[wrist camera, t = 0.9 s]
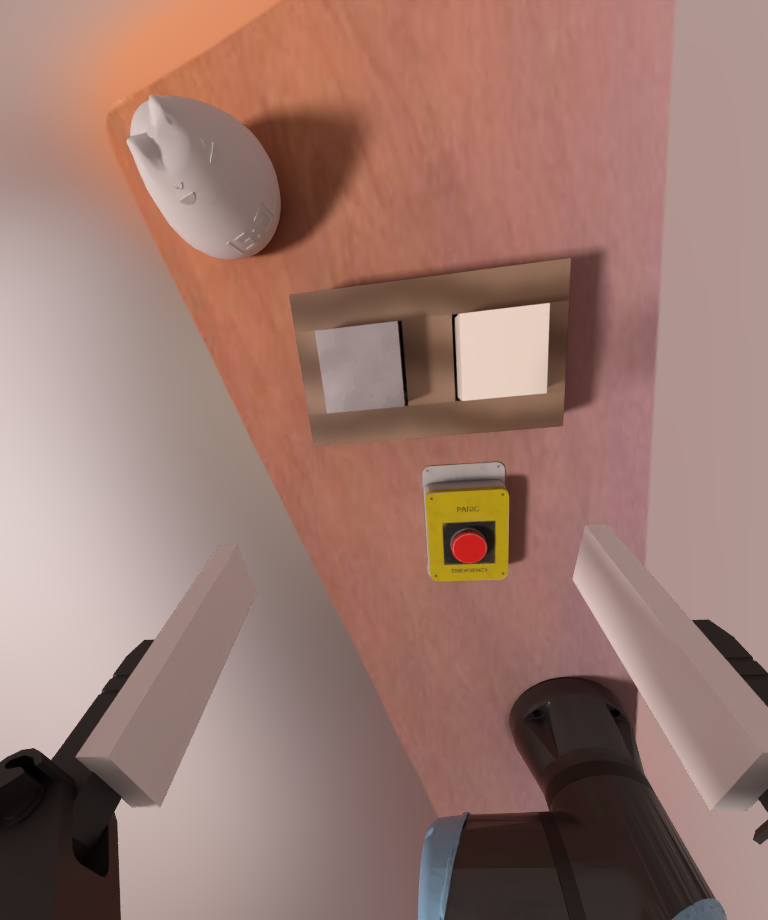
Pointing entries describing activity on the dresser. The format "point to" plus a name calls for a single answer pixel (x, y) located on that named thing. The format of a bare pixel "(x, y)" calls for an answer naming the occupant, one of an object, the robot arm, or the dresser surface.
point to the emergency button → (466, 521)
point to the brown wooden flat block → (434, 351)
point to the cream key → (502, 352)
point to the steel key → (361, 367)
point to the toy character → (206, 175)
